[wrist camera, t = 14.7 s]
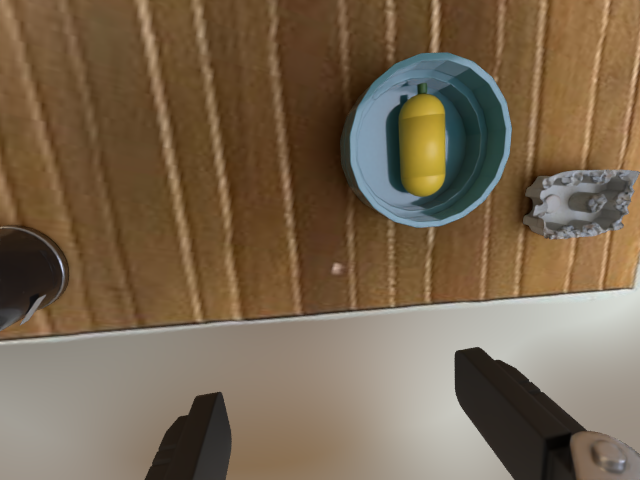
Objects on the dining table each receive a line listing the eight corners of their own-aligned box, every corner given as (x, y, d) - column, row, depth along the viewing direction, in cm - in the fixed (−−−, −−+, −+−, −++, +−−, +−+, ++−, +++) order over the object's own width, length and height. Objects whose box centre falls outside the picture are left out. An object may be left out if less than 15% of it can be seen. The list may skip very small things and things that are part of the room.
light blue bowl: (365, 236, 36) (380, 250, 30) (319, 104, 32) (325, 91, 26) (487, 188, 36) (525, 192, 30) (455, 50, 32) (491, 25, 26)
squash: (429, 192, 35) (455, 195, 31) (394, 197, 34) (415, 201, 30) (427, 89, 32) (455, 77, 28) (389, 91, 31) (412, 79, 27)
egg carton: (517, 233, 37) (543, 241, 33) (526, 170, 36) (555, 171, 32) (598, 230, 38) (633, 238, 34) (611, 168, 36) (650, 169, 32)
